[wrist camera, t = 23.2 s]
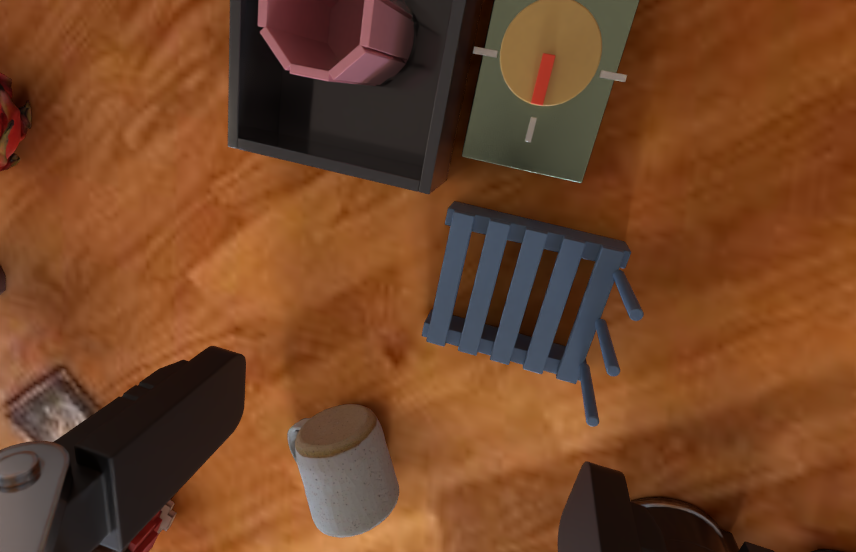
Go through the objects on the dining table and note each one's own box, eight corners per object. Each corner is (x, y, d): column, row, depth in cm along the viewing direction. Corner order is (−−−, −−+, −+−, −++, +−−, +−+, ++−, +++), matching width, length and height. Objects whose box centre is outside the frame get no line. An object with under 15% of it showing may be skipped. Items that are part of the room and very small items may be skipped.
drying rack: (625, 241, 31) (655, 290, 23) (579, 364, 35) (591, 444, 27) (454, 200, 33) (425, 233, 25) (428, 322, 37) (396, 385, 29)
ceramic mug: (388, 394, 40) (353, 456, 33) (410, 471, 42) (383, 543, 35) (284, 401, 43) (232, 459, 36) (310, 472, 46) (267, 539, 39)
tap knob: (519, 13, 25) (512, -13, 20) (599, 26, 25) (617, 3, 19) (500, 97, 27) (489, 96, 21) (575, 112, 27) (585, 114, 21)
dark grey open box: (504, -104, 26) (494, -154, 21) (446, 180, 33) (429, 194, 27) (288, -134, 28) (232, -186, 23) (273, 140, 34) (227, 146, 29)
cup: (421, -12, 28) (380, -52, 21) (406, 92, 31) (363, 88, 23) (330, -28, 29) (260, -71, 22) (322, 75, 31) (256, 66, 24)
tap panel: (654, -34, 26) (667, -51, 23) (586, 178, 30) (591, 186, 28) (503, -57, 27) (498, -76, 24) (460, 150, 32) (452, 155, 29)
